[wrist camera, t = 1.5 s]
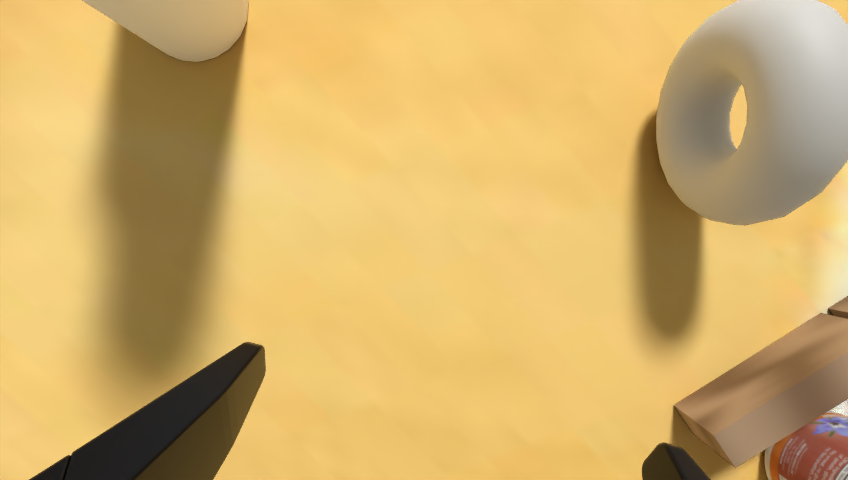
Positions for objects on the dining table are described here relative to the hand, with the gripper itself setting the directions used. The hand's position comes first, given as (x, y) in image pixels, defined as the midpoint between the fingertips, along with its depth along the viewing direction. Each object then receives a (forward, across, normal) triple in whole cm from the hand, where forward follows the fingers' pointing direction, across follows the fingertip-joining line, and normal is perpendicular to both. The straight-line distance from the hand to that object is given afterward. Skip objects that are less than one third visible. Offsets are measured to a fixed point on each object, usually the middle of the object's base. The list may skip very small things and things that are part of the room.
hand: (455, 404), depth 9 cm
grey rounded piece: (+19, -11, -2) cm, 22 cm away
